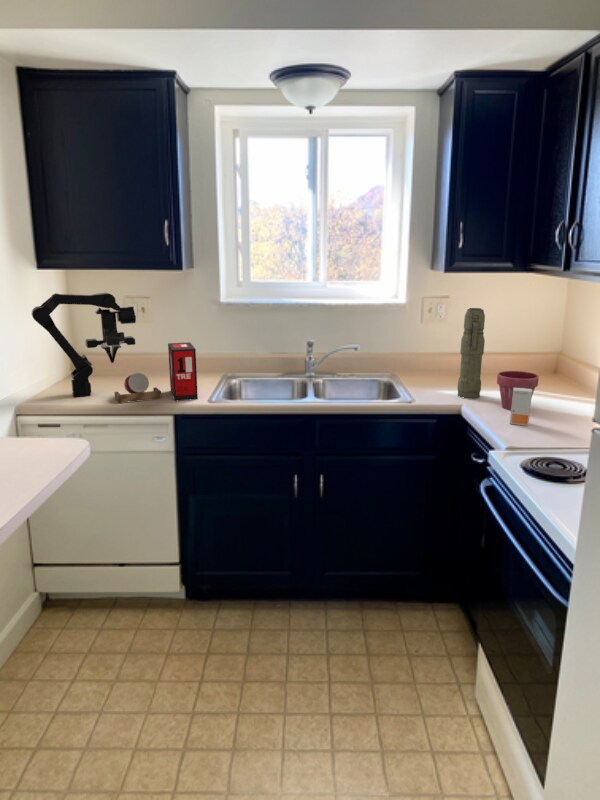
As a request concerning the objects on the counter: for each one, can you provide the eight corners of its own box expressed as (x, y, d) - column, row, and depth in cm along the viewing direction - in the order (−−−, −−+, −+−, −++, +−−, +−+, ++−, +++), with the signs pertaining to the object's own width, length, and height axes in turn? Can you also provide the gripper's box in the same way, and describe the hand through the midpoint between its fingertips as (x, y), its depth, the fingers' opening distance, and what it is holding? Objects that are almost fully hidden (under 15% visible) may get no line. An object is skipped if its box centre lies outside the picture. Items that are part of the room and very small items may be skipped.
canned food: (135, 398, 234) (141, 396, 225) (119, 385, 232) (124, 383, 222) (147, 383, 237) (153, 381, 227) (131, 371, 234) (136, 368, 224)
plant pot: (486, 406, 217) (489, 373, 214) (509, 401, 225) (512, 368, 222) (520, 415, 206) (523, 380, 203) (543, 409, 214) (546, 375, 210)
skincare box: (509, 424, 195) (512, 390, 192) (509, 420, 199) (513, 387, 196) (528, 426, 193) (532, 391, 190) (528, 422, 197) (532, 388, 194)
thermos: (460, 399, 227) (467, 310, 218) (454, 392, 238) (460, 307, 229) (483, 400, 226) (491, 310, 217) (476, 392, 238) (483, 307, 229)
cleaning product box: (197, 399, 228) (195, 348, 222) (174, 400, 225) (171, 350, 220) (192, 389, 243) (190, 342, 238) (170, 391, 240) (168, 343, 235)
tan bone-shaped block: (118, 403, 221) (117, 395, 220) (115, 399, 227) (114, 391, 226) (161, 398, 228) (160, 391, 227) (156, 394, 234) (156, 387, 233)
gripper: (87, 328, 221) (91, 368, 225) (137, 325, 229) (139, 364, 233) (83, 325, 231) (87, 363, 235) (131, 322, 239) (133, 359, 243)
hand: (112, 362), depth 236 cm, fingers closed
